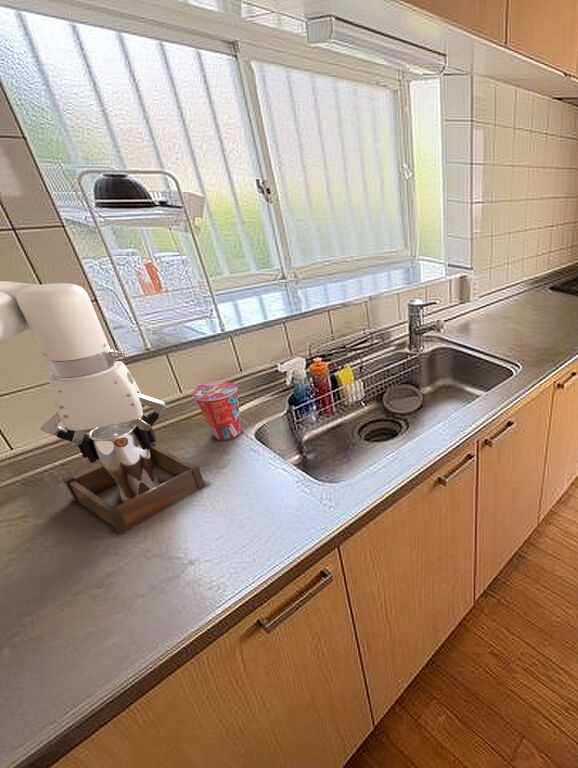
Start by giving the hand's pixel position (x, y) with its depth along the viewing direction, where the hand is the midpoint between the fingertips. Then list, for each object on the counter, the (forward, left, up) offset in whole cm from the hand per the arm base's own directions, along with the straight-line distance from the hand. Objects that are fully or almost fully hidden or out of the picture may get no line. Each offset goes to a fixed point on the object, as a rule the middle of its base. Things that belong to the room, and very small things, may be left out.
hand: (123, 451), depth 76 cm
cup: (-6, +20, -10) cm, 23 cm away
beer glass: (0, 0, -10) cm, 10 cm away
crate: (0, 0, -10) cm, 10 cm away
